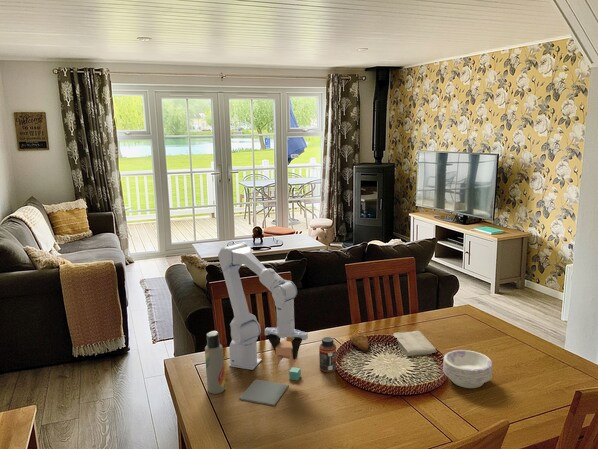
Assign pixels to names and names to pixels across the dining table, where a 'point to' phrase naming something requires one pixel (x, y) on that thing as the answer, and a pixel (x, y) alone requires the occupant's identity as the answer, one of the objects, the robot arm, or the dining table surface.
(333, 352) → the supplement bottle
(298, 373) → the teal cube
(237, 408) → the dining table surface
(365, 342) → the croissant
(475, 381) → the paper bowls
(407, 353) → the washcloth
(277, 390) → the slate mat
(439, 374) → the dining table surface
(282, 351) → the terracotta cover
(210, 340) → the lotion bottle
